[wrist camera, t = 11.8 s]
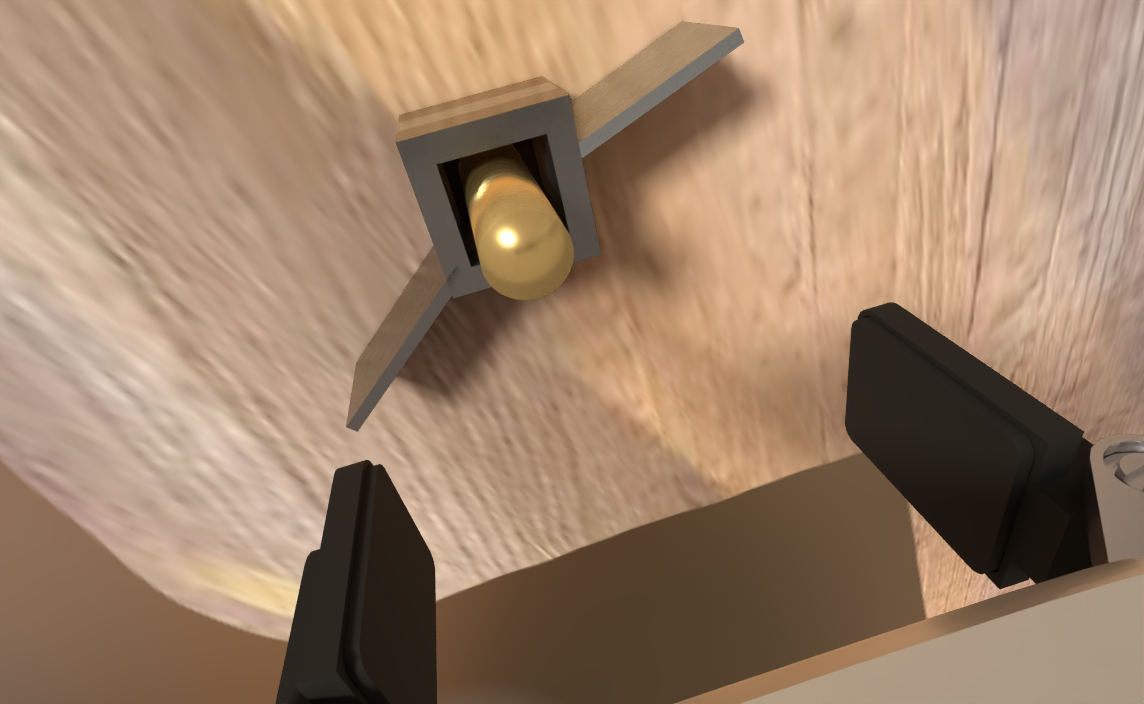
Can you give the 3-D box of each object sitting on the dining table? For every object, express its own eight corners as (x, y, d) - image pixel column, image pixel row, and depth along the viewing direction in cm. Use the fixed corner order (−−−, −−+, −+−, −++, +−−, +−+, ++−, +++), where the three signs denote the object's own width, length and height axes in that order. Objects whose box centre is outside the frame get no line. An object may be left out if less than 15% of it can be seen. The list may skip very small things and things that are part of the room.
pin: (513, 128, 29) (562, 199, 19) (529, 190, 31) (582, 285, 21) (450, 145, 29) (467, 226, 19) (470, 207, 31) (494, 311, 21)
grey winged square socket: (685, 20, 28) (743, 26, 23) (708, 263, 36) (755, 308, 31) (242, 139, 27) (203, 173, 22) (359, 369, 34) (349, 433, 29)
